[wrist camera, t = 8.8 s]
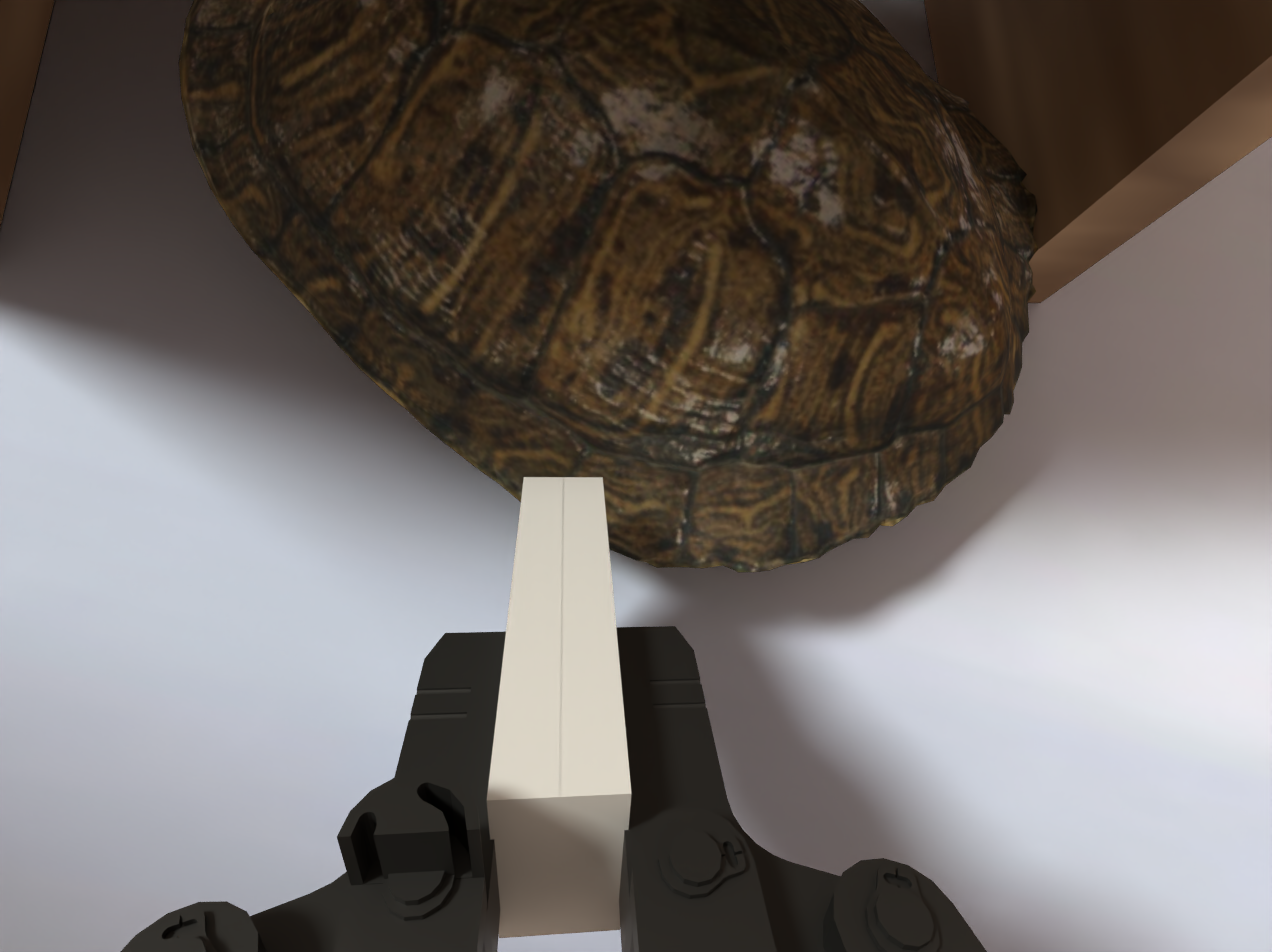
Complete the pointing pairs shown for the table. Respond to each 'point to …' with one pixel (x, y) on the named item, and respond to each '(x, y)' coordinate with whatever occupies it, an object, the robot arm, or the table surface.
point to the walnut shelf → (1014, 104)
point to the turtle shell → (637, 246)
